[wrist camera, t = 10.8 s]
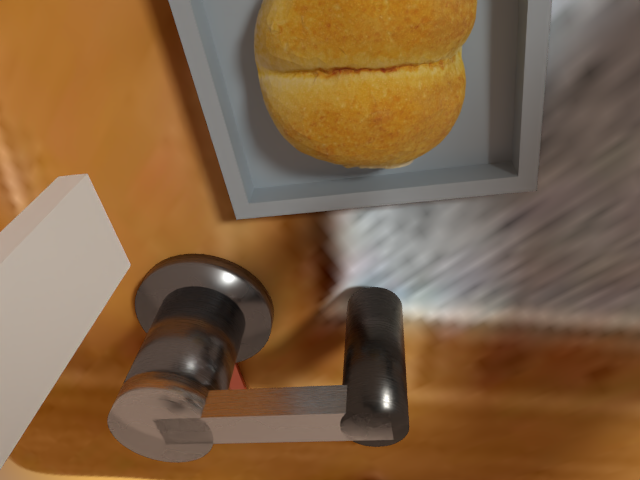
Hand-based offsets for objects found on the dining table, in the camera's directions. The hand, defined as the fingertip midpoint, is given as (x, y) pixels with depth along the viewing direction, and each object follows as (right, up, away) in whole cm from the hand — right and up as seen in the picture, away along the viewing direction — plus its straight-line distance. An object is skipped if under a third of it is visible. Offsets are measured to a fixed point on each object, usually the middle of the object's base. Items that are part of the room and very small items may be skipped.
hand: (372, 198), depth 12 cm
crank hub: (-7, -7, +21) cm, 23 cm away
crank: (-4, -5, +18) cm, 19 cm away
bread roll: (+1, +7, +10) cm, 12 cm away
